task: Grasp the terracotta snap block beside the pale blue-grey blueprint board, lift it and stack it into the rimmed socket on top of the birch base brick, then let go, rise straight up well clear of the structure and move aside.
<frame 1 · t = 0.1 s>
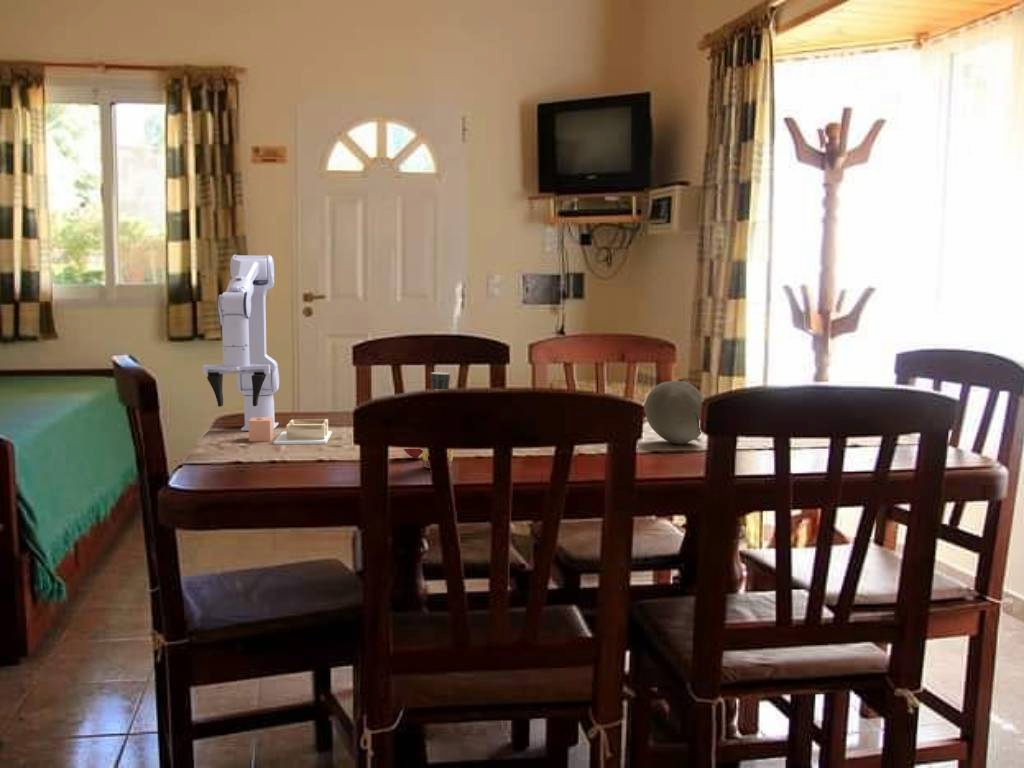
hand: (237, 405, 216), 10 cm above the table, fingers open, 7 cm apart
blueprint board: (303, 438, 231), on the table
birch base brick: (308, 438, 231), resting on blueprint board
sauce bottle: (438, 468, 199), on the table
terracotta block: (261, 439, 230), on the table
onion: (414, 459, 209), on the table
cantaloupe: (674, 444, 227), on the table
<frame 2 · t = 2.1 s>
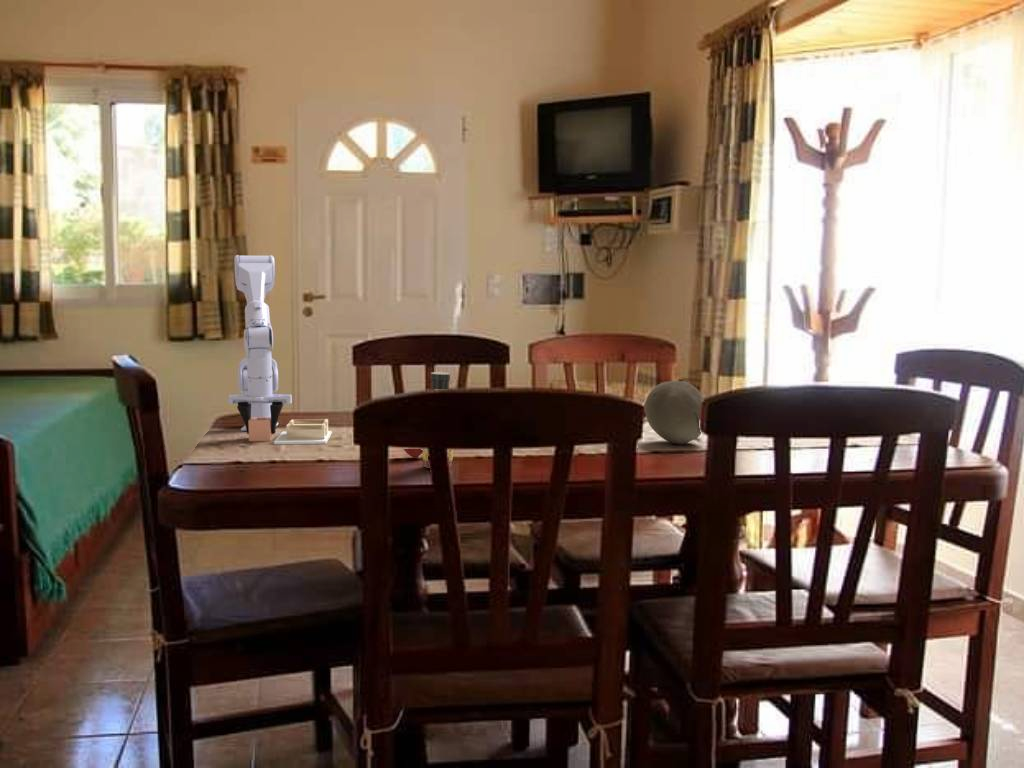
hand: (261, 433, 230), 1 cm above the table, fingers closed on terracotta block, 5 cm apart
terracotta block: (261, 439, 230), on the table, touching gripper
everything else where it was.
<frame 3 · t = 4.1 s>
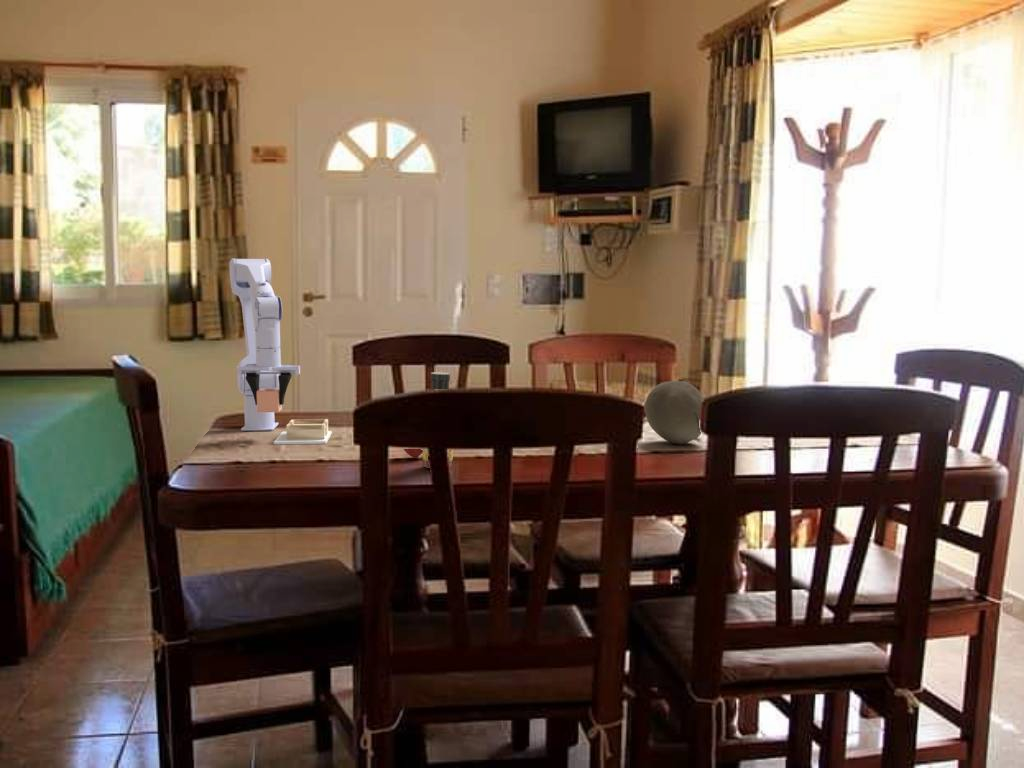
hand: (269, 404, 229), 8 cm above the table, fingers closed on terracotta block, 5 cm apart
terracotta block: (269, 410, 229), point 7 cm above the table, touching gripper
everything else where it was.
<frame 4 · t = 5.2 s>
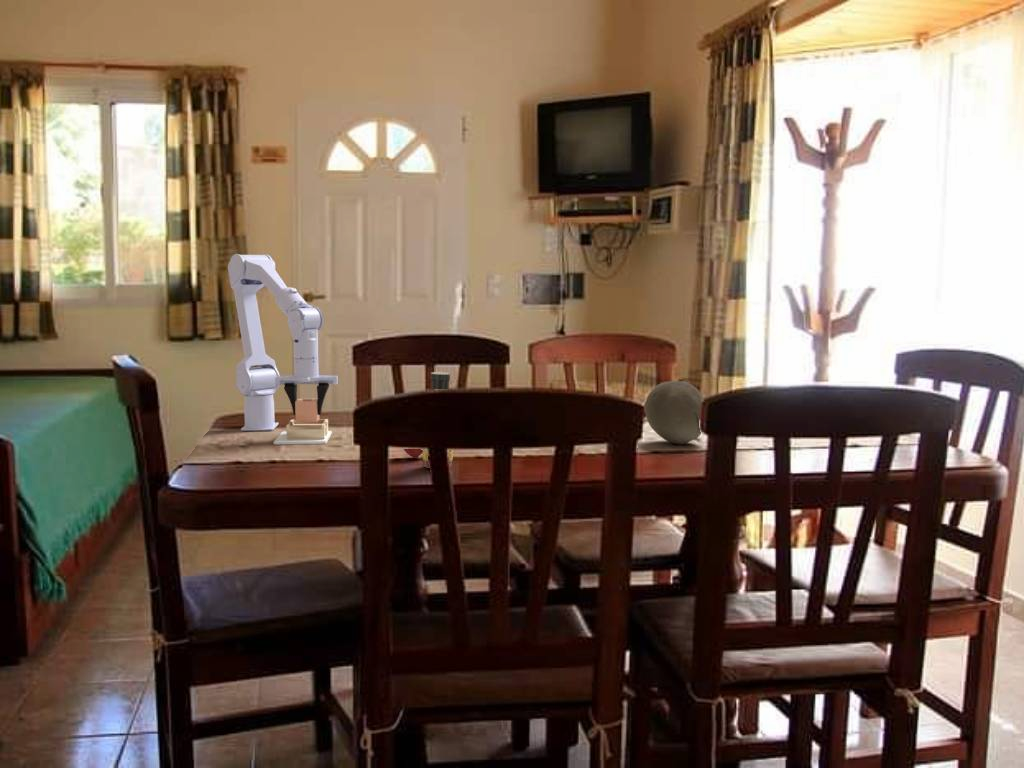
hand: (307, 414, 230), 6 cm above the table, fingers closed on terracotta block, 5 cm apart
terracotta block: (307, 420, 230), point 4 cm above the table, touching gripper
everything else where it was.
when the fingers open (5 cm above the table, at t = 6.2 s): terracotta block stays where it is, resting on birch base brick.
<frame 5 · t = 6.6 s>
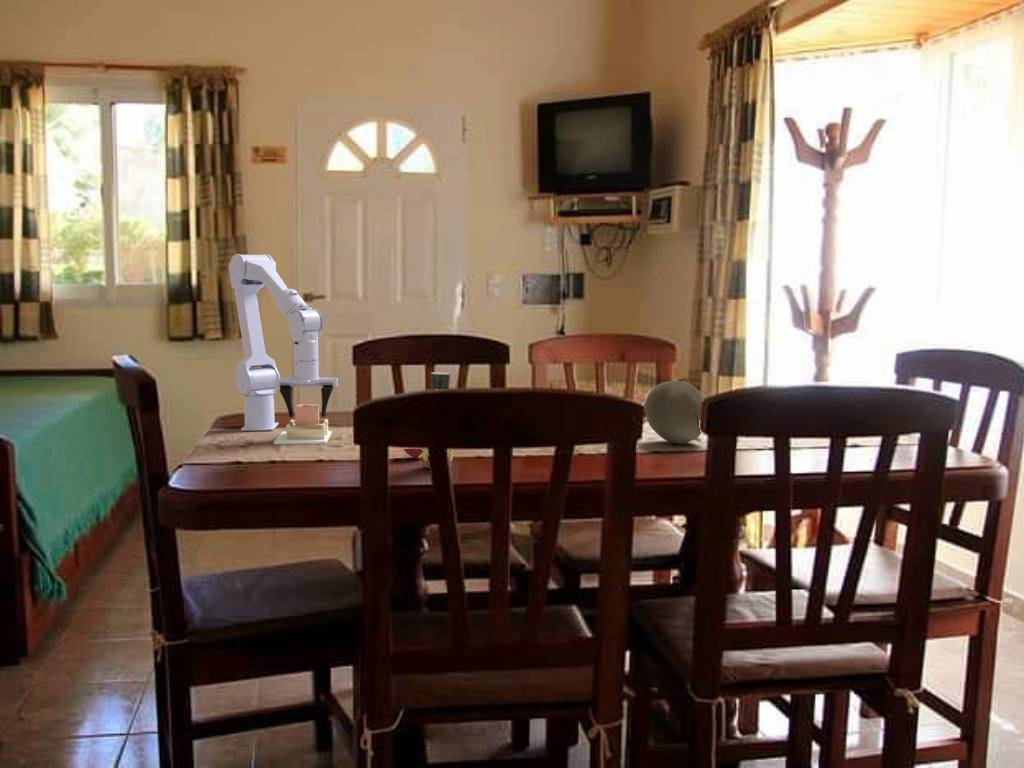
hand: (307, 416, 230), 5 cm above the table, fingers open, 7 cm apart
terracotta block: (307, 426, 231), point 3 cm above the table, touching birch base brick
everything else where it was.
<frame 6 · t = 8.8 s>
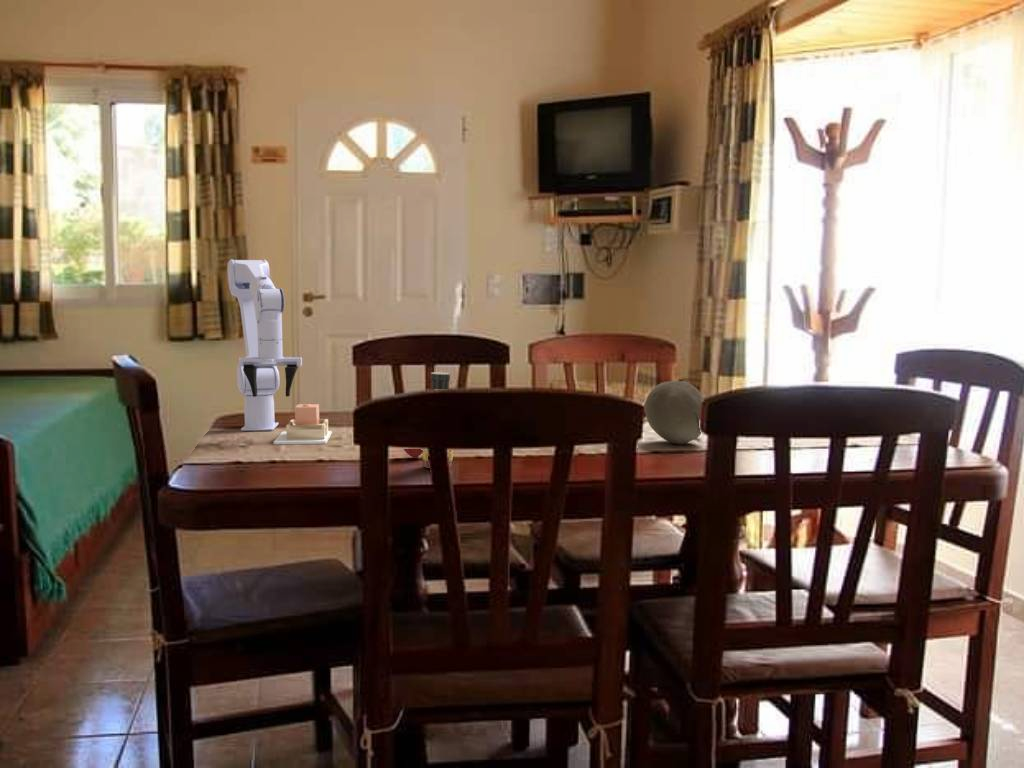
hand: (271, 396, 229), 10 cm above the table, fingers open, 7 cm apart
nothing on the table moved.
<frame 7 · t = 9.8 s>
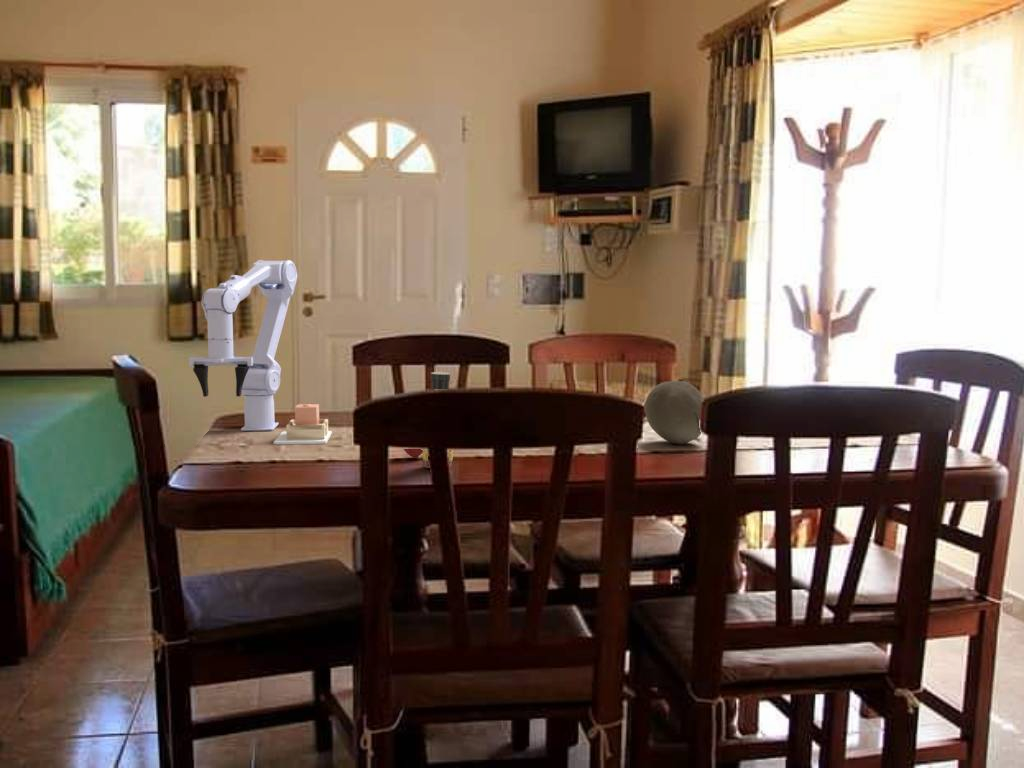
hand: (222, 396, 229), 10 cm above the table, fingers open, 7 cm apart
nothing on the table moved.
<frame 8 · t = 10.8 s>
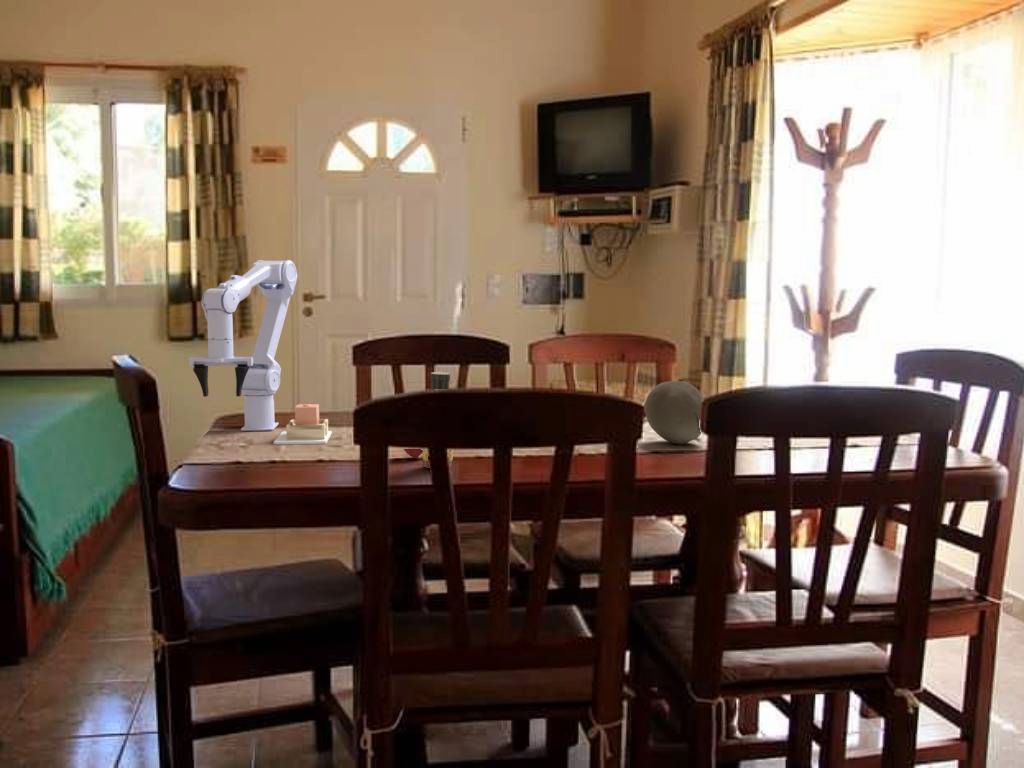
hand: (222, 396, 229), 10 cm above the table, fingers open, 7 cm apart
nothing on the table moved.
at the end: terracotta block 0.1 cm from the target spot, point 3.0 cm above the table; terracotta block tilted 0°; the gripper is holding nothing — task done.
